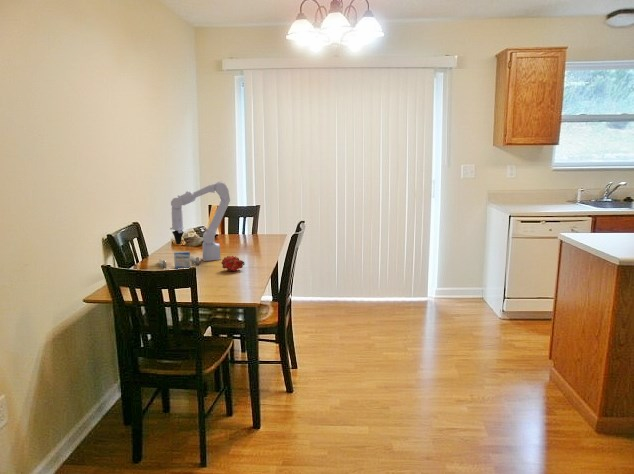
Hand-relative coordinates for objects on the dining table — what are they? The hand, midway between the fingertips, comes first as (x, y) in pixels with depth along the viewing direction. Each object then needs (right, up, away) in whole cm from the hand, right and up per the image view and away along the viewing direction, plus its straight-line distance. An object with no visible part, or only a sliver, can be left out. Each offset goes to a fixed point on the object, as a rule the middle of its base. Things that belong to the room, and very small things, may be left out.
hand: (178, 244), depth 277 cm
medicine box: (+6, -13, -15) cm, 21 cm away
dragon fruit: (+34, -14, -20) cm, 41 cm away
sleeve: (+2, -11, -6) cm, 13 cm away
